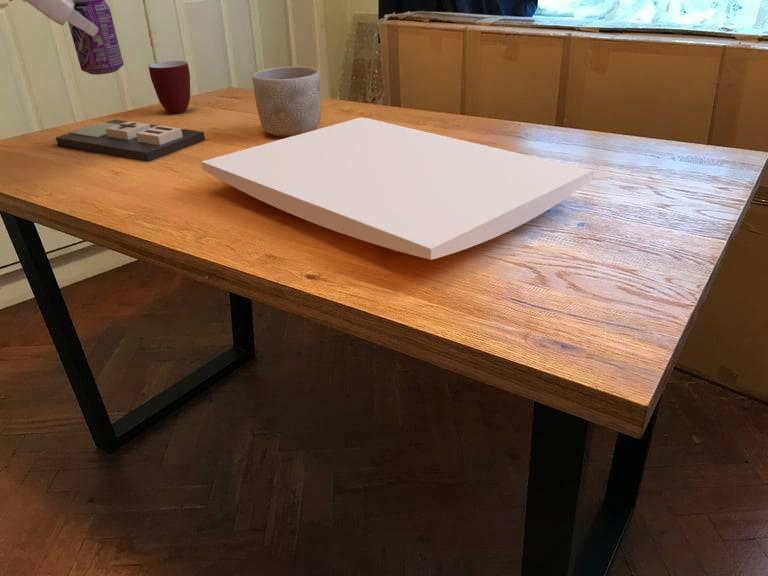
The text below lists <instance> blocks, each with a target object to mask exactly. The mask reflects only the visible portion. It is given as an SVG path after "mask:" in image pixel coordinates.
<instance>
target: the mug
mask: <svg viewBox="0 0 768 576" xmlns="http://www.w3.org/2000/svg"><path fill="white" fill-rule="evenodd" d="M148 71H149V77H150V80H151V83H152V86H153V89H154V92H155V94H156V96H157V99H158V101H159V103H160V105H161V106H162V107H163V109H164V111H165V112H166V113H168V114H170V115H179V114H183V113H186V112H187V111H188V108H189V104H190V100H191V72H190V68H189V63H188V61H185V60H170V61H169V60H167V61H159V62H154V63H151V64H149V65H148Z"/></svg>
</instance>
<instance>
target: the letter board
mask: <svg viewBox="0 0 768 576" xmlns="http://www.w3.org/2000/svg"><path fill="white" fill-rule="evenodd" d="M55 140H56V145H57V146H59V147H66V148H71V149H76V150H82V151H87V152H94V153H100V154H105V155H106V154H107V155H111V156H117V157H122V158H128V159H134V160H139V161H146V162H150V161H153V160H156V159H158V158H160V157H163V156H166V155H169V154H171V153H174V152H177V151H179V150H182V149H185V148H187V147H189V146H192V145H196V144H197V143H200V142H203V141H206V137H205V132H204V131H201V130H194V129H186V128H181V127H174V126H166V125H157V124H151V123H146V122H140V121H139V122H138V121H130V120H129V121H128V120H122V119H113V120H109V121H106V122H105V121H102V122H98V123H95V124H92V125H89V126H86V127H81V128H79V129H76V130H72V131H69V132H68V133H66V134H63V135H59V136H56V137H55Z"/></svg>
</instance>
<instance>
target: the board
mask: <svg viewBox="0 0 768 576" xmlns="http://www.w3.org/2000/svg"><path fill="white" fill-rule="evenodd" d="M200 161H201V160H200ZM201 169H202V171H204V172H206V173H208V174H209V175H211V176H212V177H214V178H216V179H218V180H220V181H222V182H223V183H225V184H227V185H229V186H230V187H233V188H235V189H237V190H239V191H240V192H243V193H245V194H246V195H249V196H251V197H253V198H255V199H257V200H259V201H261V202H263V203H265V204H267V205H269V206H272V207H274V208H276V209H279V210H281V211H283V212H286V213H288V214H289V215H290V214H291V215H293V216H295V217H297V218H300V219H303V220H305V221H308V222H310V223H312V224H316V225H318V226H320V227H323V228H326V229H329V230H331V231H334V232H336V233H340V234H343V235H346V236H349V237H351V238H355V239H357V240H360V241H364V242H366V243H370V244H373V245H376V246H379V247H382V248H386V249H390V250H392V251H395V252H400V253H404V254H408V255H411V256H414V257H418V258H422V259H425V260H426V259H427V260H430V261H432V260H436V259H439V258H442V257H446V256H449V255H453V254H455V253H457V252H461V251H464V250H468V249H470V248H472V247H474V246H477V245H480V244H483V243H485V242H488V241H489V240H492V239H495V238H497V237H499V236H501V235H503V234H505V233H508V232H510V231H512V230H514V229H516V228H518V227H520V226H522V225H524V224H526V223H528V222H529V221H532V220H533V219H535V218H537V217H539V216H540V215H542V214H544V213H545V212H547V211H549V210H551V209H552V208H553V207H555V206H556V205H558V204H560V203H561V202H563V201H564V200H566V199H567V198H569V197H570V196H572V195H573V194H575V193H576V192H577V191H579V190H580V189H582V188H583V187H584V186H586V185H587V184H588V183H589V182H591V181H593V177H594V176H593V175H594V170H592V169H590V168H589V169H588V168H584V167H581V166H577V165H576V166H575V165H572V164H571V165H570V164H567V163H564V162H563V163H562V162H558V161H554V160H549V159H545V158H541V157H536V156H532V155H529V154H524V153H519V152H515V151H511V150H507V149H501V148H498V147H494V146H493V147H492V146H489V145H485V144H480V143H476V142H472V141H468V140H464V139H459V138H454V137H450V136H446V135H442V134H437V133H432V132H428V131H424V130H420V129H415V128H410V127H408V126H407V127H406V126H402V125H398V124H394V123H390V122H386V121H381V120H376V119H372V118H368V117H364V116H361V117H357V118H353V119H350V120H347V121H343V122H339V123H336V124H332V125H329V126H328V125H327V126H324V127H321V128H316V129H315V130H313V131H310V132H306V133H303V134H299V135H295V136H291V137H284V138H282V139H277V140H274V141H270V142H267V143H263V144H260V145H256V146H251V147H249V148H246V149H242V150H241V149H240V150H238V151H234V152H231V153H227V154H224V155H219V156H217V157H211V158H209V159H205V160H202V161H201Z"/></svg>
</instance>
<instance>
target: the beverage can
mask: <svg viewBox="0 0 768 576" xmlns="http://www.w3.org/2000/svg"><path fill="white" fill-rule="evenodd" d="M72 1H73V2H74V3H75V6H74V9H75V10H76V11H77V12H79V13H80V14H81V15H82V16H84V17H85V18H86V19H88V20H89V21H90V22H92V23H93V24H95V25H96V26H97V27H98V32H97V33H96V35H95V36H91V35H89V34H88V33H86V32H85V31H83V30H81V29H79V28H77V27H75V26H74V25H72V24H71V23H69V22H68V21H67V23H68V27H69V31H70V34H71V38H72V42H73V45H74V47H75V48H74V49H75V52H76V56H77V60H78V64H79V66H80V70H81V71H82V72H84V73H87V74H89V75H93V76H95V75H108V74H112V73H116V72H117V71H119V70H120V69H121V68H122V67H123V66H124V65H125V64H124V59H123V55H122V51H121V48H120V43H119V40H118V36H117V31H116V28H115V23H114V19H113V15H112V12H111V7H110V6H109V4H108V3H107V1H106V0H72Z"/></svg>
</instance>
